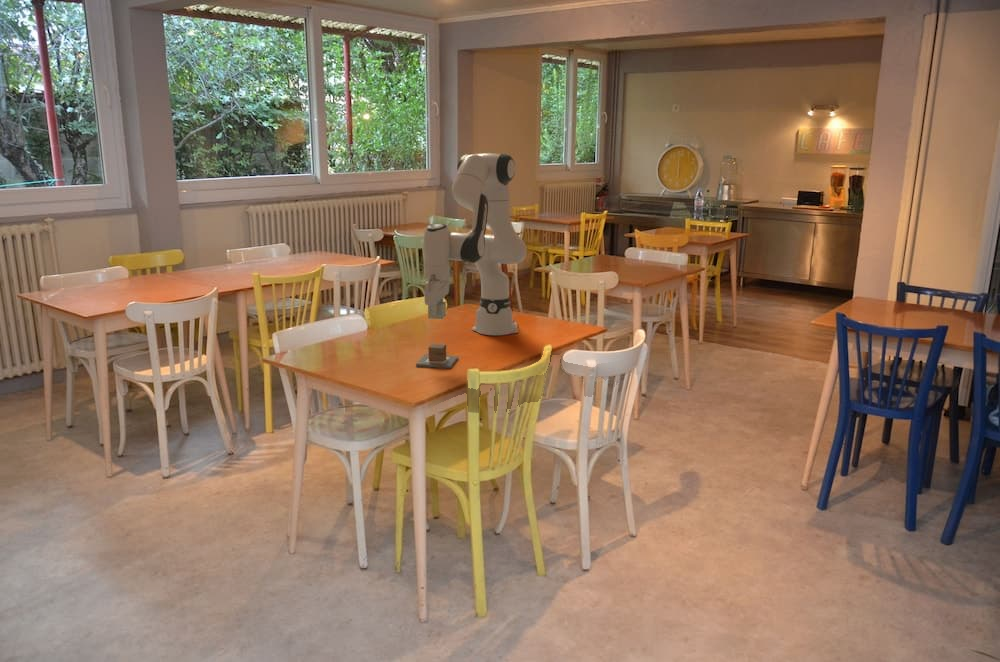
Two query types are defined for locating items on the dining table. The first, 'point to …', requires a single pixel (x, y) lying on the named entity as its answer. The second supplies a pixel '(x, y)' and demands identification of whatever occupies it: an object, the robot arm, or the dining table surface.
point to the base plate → (445, 364)
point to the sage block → (441, 311)
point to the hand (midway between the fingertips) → (437, 312)
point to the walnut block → (437, 352)
